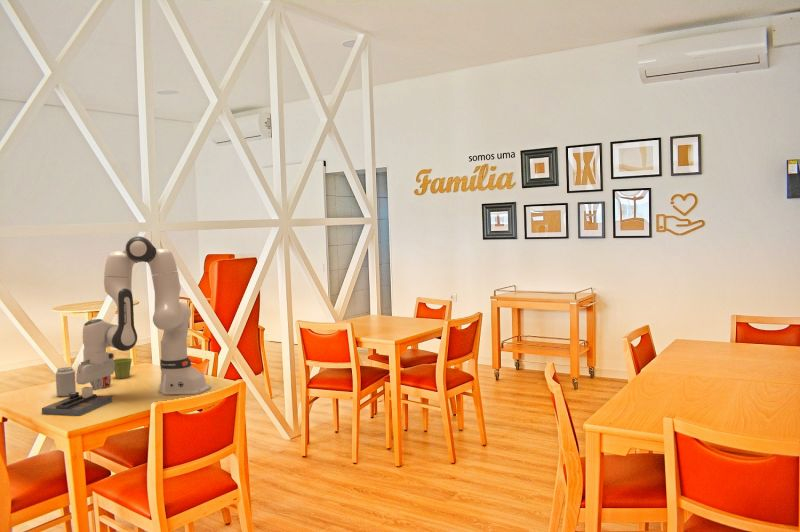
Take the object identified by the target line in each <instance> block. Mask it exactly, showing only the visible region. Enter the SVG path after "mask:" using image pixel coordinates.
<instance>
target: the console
mask: <svg viewBox="0 0 800 532" xmlns="http://www.w3.org/2000/svg"><path fill="white" fill-rule="evenodd" d="M112 402H113V396H112V395H97V394H96V393H95V394H94V393H93V395H92V396H90V397H87V398H82V394H80V392H79V391H76V392H71V393H69V396H68V397H67V398H65V399H61V400H58V401H57V402H53V403H51V404H48V405H46V406H44V407H41V414H42V415H53V416H54V415H55V416H56V415H58V416H78V417H81V416H83V415H85V414H87V413H90V412H92V411H94V410H96V409H99V408H101V407H104V406H105V405H107V404H110V403H112Z"/></svg>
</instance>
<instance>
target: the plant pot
mask: <svg viewBox="0 0 800 532" xmlns="http://www.w3.org/2000/svg"><path fill="white" fill-rule="evenodd" d="M113 360H114V375H115V378H116V379H117V380H118V379H121V380H122V379H128V378H130V373H131V367H132V366H131V364H132V361H133V358H129V357H127V358H126V357H123V358H121V357H120V358H115V359H113Z"/></svg>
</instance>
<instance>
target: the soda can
mask: <svg viewBox="0 0 800 532" xmlns="http://www.w3.org/2000/svg"><path fill="white" fill-rule="evenodd" d="M111 379H112V378H111V375H109V376H106V377H103V378H102V382H101V385H100V389H106V388H109V386H110V385H111V381H112V380H111ZM96 382H97V381H96ZM105 387H106V388H105Z"/></svg>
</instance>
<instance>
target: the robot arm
mask: <svg viewBox="0 0 800 532" xmlns="http://www.w3.org/2000/svg"><path fill="white" fill-rule="evenodd" d="M144 262H145V263H147V264H148V266H149V270H150V273H151V280H152V284H153V290H154V312H153V315H152V322H153V325H154V326H155V328H156V329H159V330H162V331H163V332H162V337H161V340H160V354H161V355H160V356H161V357H160V362H159V363H160V370H161V373H160V374H161V375H160V383H159V389H158V391H159V392H160V393H161V394H162V395H169V396H171V395H197V394H201V393H205V392H206V391H208V390H210V389H211V387H212V385H211V384H210V383H206V378H205V375H204V374H203V373H202V372H201V371H199V370H198V369H197V368H195V367H194V366H193V365H192V362H193V360H194V359H193V358H191V359H190V358H189V357H188V342H187V341H188V333H189V327H190V326H189V325H190V318H191V315H192V311H191V310H192V309H191V308H190V306H189V305H188V304H187V303H185V302H182V301H180V293H181V289H182V288H181V284H180V277H179V271H178V267H177V264H176V259H175V257H174V255H173V252H172V251H171V250H170V249H167V248H156V247H155V246H154V245H153V243H152V242H151V240H150V239H149V238H148V237H144V236H140V235H138V236H137V235H136V236H134V237H131V238H130V239H128V241H127V242H126V244H125V249H123V250H116V251H112V252H111V253H109V254H108V255H107V258H106V262H105V264H104V265H105V267H104V273H103V275H104V276H103V285H104V291H105V293H106V294H107V296H109V297H110V298H111V299H112V300H113V302H114V303H115V305H116V308H117V324H113V323H111V322H107V321H106V320H103V319H101V318H96V319H91V320H88V321H86V322H85V323H84V324H83V328H82V344H83V350H82V353H83V361H80V363H78V366H77V368H76V375H75V383H76V384H77V385H87V384H90V385H91V387H93V391H97V390H100V389H101V388H100V385H101V382H102V378H103V377H106V376H109V375H110V376H111V375H114V374H115V371H114V360H115V359H114V358H115V354H114V353H113V352H107V349H108V347H111V348H113V349H117V350H119V351H122V352H126V351H127V352H128V351H130V350H131V349H133V348H134V347H135V346H136V344H137V342H138V334H137V330H136V329H135V318H134V316H135V315H134V314H135V313H134V298H133V290H132V281H133V280H132V279H133V278H132V277H133V267H134V265H135V264H137V263H144ZM96 381H97V382H96Z"/></svg>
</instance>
